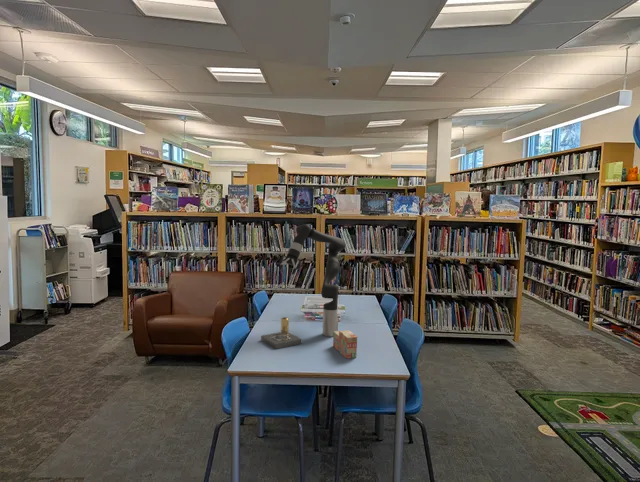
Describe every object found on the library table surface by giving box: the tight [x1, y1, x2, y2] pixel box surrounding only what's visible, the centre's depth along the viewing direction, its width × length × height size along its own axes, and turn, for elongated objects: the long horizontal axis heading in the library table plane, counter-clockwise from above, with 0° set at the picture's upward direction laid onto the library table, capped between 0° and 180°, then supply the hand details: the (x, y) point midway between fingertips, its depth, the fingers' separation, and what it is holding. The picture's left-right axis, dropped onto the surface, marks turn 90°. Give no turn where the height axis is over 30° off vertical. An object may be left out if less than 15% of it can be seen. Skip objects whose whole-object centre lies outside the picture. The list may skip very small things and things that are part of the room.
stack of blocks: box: [332, 329, 358, 360], centre depth 237 cm, size 21×6×12 cm, turn 19°
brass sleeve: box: [280, 316, 290, 333], centre depth 267 cm, size 5×5×10 cm
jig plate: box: [260, 331, 303, 350], centre depth 250 cm, size 18×18×3 cm
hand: (286, 272), depth 265 cm, fingers open, 8 cm apart
